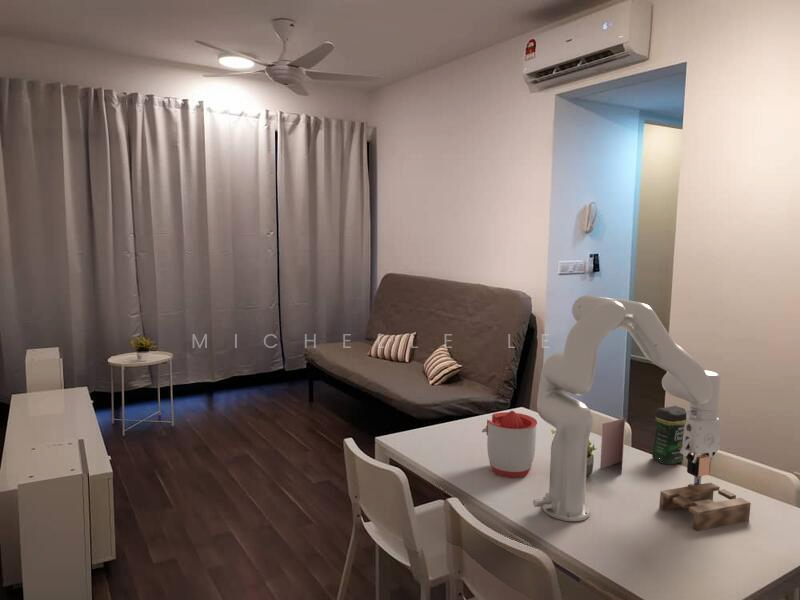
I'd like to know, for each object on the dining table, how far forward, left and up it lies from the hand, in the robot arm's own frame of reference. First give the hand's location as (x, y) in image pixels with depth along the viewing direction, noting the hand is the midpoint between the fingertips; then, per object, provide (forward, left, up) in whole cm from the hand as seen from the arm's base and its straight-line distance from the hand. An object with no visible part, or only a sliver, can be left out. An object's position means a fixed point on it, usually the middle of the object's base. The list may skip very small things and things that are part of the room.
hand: (698, 472), depth 172 cm
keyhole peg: (0, 0, -6) cm, 6 cm away
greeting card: (-10, +22, -6) cm, 25 cm away
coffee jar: (+10, +22, -6) cm, 25 cm away
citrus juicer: (-46, +31, -6) cm, 56 cm away
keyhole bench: (-9, -11, -6) cm, 15 cm away
